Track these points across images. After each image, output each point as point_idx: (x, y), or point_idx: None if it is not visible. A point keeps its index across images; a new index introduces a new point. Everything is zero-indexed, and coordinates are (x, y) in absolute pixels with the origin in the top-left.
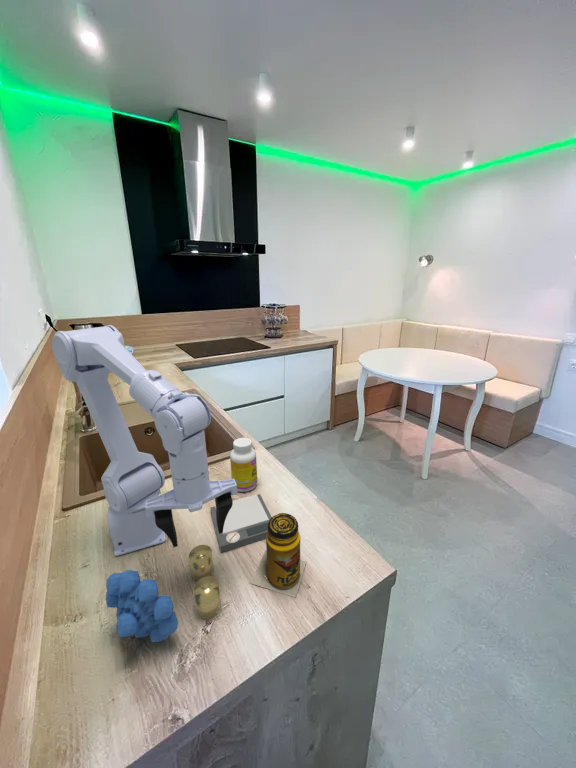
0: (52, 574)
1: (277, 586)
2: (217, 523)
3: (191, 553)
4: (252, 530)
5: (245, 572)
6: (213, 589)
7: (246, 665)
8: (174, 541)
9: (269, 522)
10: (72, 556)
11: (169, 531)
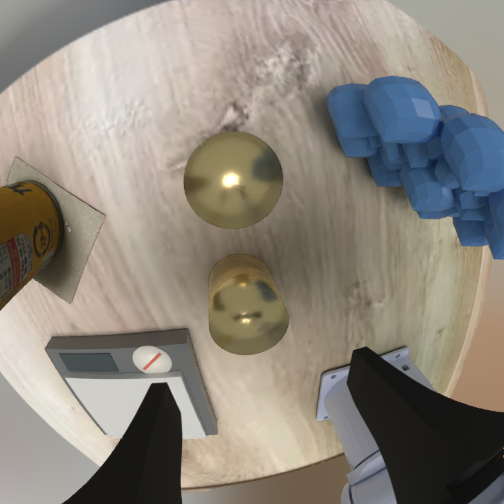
0: (467, 320)
1: (42, 189)
2: (174, 425)
3: (279, 331)
4: (101, 364)
5: (118, 254)
6: (206, 165)
7: (151, 20)
8: (381, 367)
9: None
10: (447, 347)
11: (437, 408)
